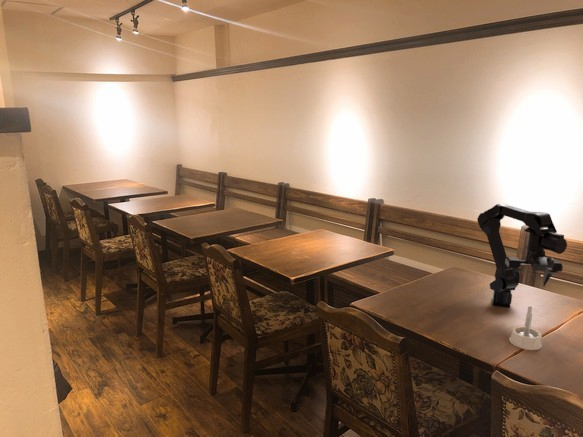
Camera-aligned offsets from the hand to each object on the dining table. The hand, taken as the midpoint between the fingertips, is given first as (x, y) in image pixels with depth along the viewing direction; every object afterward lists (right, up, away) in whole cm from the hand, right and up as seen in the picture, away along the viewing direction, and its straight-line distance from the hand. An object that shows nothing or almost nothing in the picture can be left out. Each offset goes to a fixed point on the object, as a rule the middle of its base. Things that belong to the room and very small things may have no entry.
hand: (530, 285), depth 178 cm
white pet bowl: (-11, -17, -17) cm, 27 cm away
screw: (-10, -17, -17) cm, 26 cm away
